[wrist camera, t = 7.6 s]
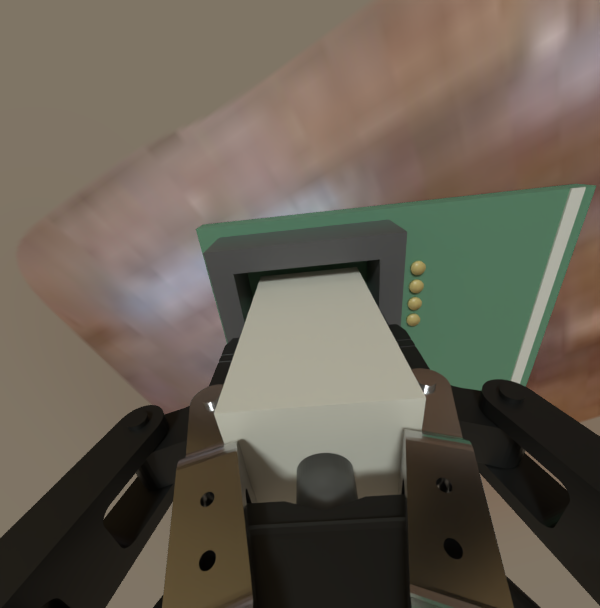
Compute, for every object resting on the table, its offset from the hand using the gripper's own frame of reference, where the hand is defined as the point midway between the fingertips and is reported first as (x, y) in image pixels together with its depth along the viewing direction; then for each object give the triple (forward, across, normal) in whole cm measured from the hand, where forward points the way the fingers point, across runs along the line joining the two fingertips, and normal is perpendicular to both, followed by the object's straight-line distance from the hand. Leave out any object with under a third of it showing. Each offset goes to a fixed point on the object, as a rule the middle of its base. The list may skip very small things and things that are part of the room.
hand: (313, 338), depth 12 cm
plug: (+2, 0, 0) cm, 2 cm away
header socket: (+3, -1, +1) cm, 3 cm away
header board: (+4, -4, +2) cm, 6 cm away
